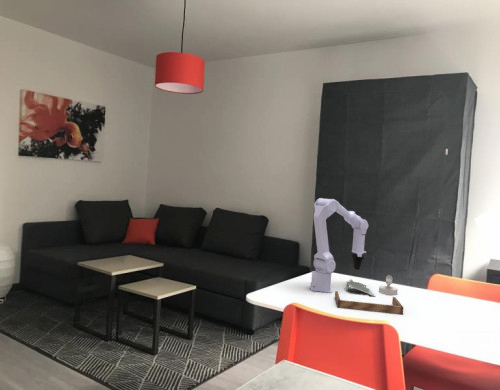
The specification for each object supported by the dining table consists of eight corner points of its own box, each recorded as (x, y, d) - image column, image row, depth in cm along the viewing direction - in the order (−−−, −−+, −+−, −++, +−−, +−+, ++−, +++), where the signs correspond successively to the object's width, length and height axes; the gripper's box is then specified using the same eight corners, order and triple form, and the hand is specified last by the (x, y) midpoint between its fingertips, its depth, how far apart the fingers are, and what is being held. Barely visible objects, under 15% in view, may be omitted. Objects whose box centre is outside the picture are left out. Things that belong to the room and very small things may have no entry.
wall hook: (380, 274, 200) (380, 271, 210) (378, 294, 200) (379, 289, 210) (398, 276, 197) (398, 273, 207) (397, 296, 198) (397, 292, 207)
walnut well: (337, 307, 172) (338, 300, 171) (334, 297, 187) (335, 291, 187) (402, 314, 168) (403, 307, 168) (394, 303, 184) (395, 297, 184)
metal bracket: (350, 282, 195) (345, 276, 210) (345, 294, 195) (341, 287, 210) (379, 294, 194) (372, 286, 209) (375, 305, 194) (368, 297, 209)
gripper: (368, 244, 203) (366, 272, 204) (364, 241, 218) (362, 267, 218) (354, 243, 204) (352, 270, 205) (350, 240, 219) (349, 265, 219)
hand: (356, 268), depth 211 cm, fingers open, 3 cm apart
